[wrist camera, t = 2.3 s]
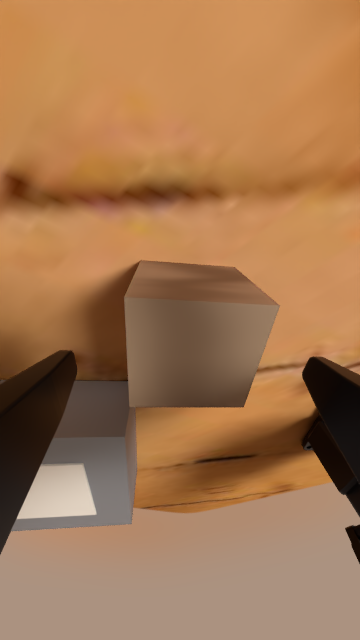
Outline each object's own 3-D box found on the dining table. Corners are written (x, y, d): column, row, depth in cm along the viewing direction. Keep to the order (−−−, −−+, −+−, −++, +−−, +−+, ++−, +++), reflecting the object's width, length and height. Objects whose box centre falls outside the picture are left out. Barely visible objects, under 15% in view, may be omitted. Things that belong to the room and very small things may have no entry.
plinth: (134, 381, 14) (124, 438, 11) (137, 469, 20) (131, 525, 17) (-53, 379, 13) (-134, 442, 10) (6, 473, 19) (-30, 535, 15)
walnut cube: (234, 266, 11) (280, 305, 7) (217, 342, 13) (243, 407, 9) (140, 260, 10) (124, 296, 6) (141, 339, 13) (129, 407, 8)
